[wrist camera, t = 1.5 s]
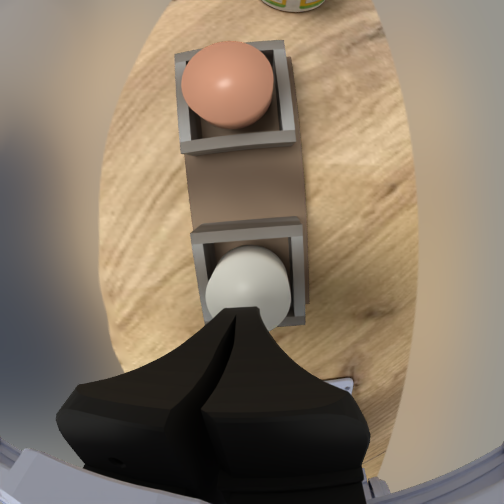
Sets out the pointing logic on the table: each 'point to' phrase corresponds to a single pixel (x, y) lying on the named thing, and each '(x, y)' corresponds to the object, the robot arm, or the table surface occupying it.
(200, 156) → the panel
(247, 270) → the white plunger
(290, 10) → the supplement bottle
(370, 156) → the table surface
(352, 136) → the table surface
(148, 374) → the robot arm
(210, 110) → the tan rounded dome
